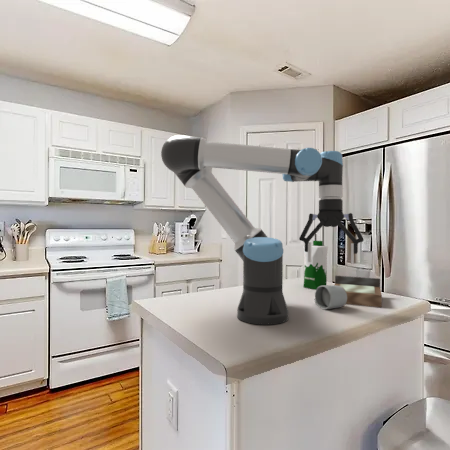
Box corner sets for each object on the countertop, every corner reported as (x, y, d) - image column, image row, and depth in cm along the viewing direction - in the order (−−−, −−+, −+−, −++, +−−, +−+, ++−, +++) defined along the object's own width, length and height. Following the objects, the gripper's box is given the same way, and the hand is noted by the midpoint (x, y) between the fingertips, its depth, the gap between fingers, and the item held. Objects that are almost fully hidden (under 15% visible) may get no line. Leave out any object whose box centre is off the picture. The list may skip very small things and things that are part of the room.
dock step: (331, 302, 114) (331, 282, 114) (335, 292, 129) (335, 275, 128) (381, 307, 107) (381, 286, 107) (379, 296, 122) (380, 278, 122)
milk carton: (329, 287, 138) (330, 241, 138) (318, 290, 132) (318, 242, 132) (311, 284, 145) (312, 240, 145) (300, 287, 139) (300, 241, 138)
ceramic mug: (349, 309, 105) (349, 285, 105) (330, 312, 102) (330, 287, 102) (326, 302, 115) (326, 280, 115) (308, 304, 111) (308, 282, 111)
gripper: (371, 198, 105) (371, 263, 106) (295, 200, 115) (295, 259, 116) (372, 196, 98) (371, 266, 99) (290, 199, 109) (290, 262, 109)
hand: (330, 262), depth 107 cm, fingers open, 13 cm apart
